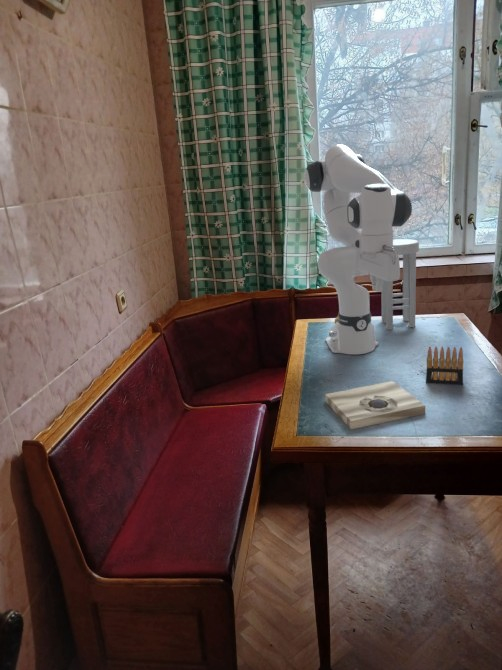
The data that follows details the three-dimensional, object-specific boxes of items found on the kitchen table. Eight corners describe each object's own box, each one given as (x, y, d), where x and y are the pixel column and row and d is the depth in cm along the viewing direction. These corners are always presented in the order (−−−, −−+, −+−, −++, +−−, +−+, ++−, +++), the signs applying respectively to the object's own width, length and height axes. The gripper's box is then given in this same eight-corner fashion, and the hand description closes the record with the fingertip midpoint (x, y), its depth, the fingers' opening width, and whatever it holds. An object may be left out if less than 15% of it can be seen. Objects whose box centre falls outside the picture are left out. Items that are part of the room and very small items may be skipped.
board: (325, 401, 149) (325, 394, 148) (392, 388, 153) (392, 380, 152) (351, 429, 132) (350, 421, 131) (425, 413, 136) (425, 405, 135)
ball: (374, 417, 137) (368, 409, 141) (388, 414, 138) (381, 406, 142) (375, 405, 136) (369, 397, 139) (389, 402, 136) (382, 395, 140)
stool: (375, 320, 218) (374, 240, 207) (411, 317, 217) (412, 237, 206) (383, 331, 204) (382, 246, 193) (421, 328, 203) (423, 242, 192)
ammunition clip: (462, 382, 152) (464, 346, 149) (463, 384, 151) (464, 348, 147) (425, 380, 156) (426, 345, 152) (425, 383, 154) (426, 347, 150)
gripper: (406, 246, 132) (405, 296, 136) (370, 238, 151) (371, 282, 155) (384, 249, 131) (384, 300, 135) (351, 240, 150) (352, 285, 154)
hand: (377, 290), depth 145 cm, fingers closed
